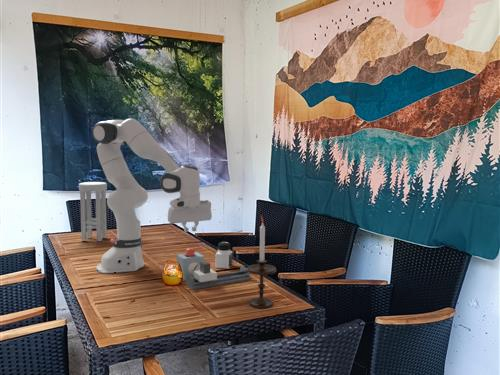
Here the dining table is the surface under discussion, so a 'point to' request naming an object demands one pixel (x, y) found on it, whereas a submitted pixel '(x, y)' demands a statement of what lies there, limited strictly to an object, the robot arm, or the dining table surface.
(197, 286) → the rail
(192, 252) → the button
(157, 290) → the dining table surface
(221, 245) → the medicine bottle
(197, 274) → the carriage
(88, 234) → the stool
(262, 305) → the candlestick
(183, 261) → the gauge cabinet
